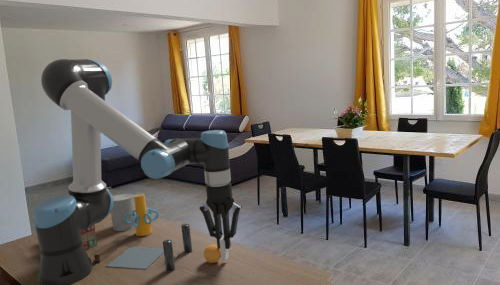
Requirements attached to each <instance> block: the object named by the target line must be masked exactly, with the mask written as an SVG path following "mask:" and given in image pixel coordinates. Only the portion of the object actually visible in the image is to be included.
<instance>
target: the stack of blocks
mask: <svg viewBox="0 0 500 285" xmlns="http://www.w3.org/2000/svg"><path fill="white" fill-rule="evenodd" d="M81 237H82V243H83V247H84V248H85V250H88V249H89V250H90V249H91V248H94V247H97V246H98V241H97V240H98V239H97V234H96V224H94V225H92V226H91V227H89V228H87V229H86V230H84V231H82V232H81Z"/></svg>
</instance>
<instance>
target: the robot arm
mask: <svg viewBox="0 0 500 285" xmlns="http://www.w3.org/2000/svg"><path fill="white" fill-rule="evenodd" d="M40 82H41V86H42V89H43V91H44V93H45V95H46V96H47V98H48V99H49V100H51V102H53V103H54V104H55V105H57V106H58V107H59V108H61V109H62V110H63V111H70V124H71V125H70V127H71V150H72V151H71V153H72V154H71V155H72V156H71V157H72V158H71V159H72V182H71V183H70V184H69V185H68V192H67V194H63V195H61V194H60V195H56V196H53V197H49V198H46V199H45V200H42V201H41V202H40V203H38V204H37V205H36V207H35V208H34V210H33V217H34V220H33V221H34V226H35V231H36V236H37V242H38V246H39V247H38V248H39V252H40V259H39V266H38V267H39V269H38V271H37V279H38V283H39V284H40V285H70V284H72V283H76V282H78V281H80V280H82V279H83V278H86V277H87V276H88V275H89V274H90V273H91V272H92V271H93V267H94V266H93V261H92V259H91V257H90V256H89V255H88V253H87V251H86V250H87V249H86V250H85V248H84V247H83V243H82V237H81V232H82V231H84V230H86V229H87V228H89V227H91V226H92V225H94V224H95V225H96V224H99V223H101V222H102V221H103V220H105V218H107V217H108V216H109V215H111V211H112V208H113V196H114V195H113V193H111V192H110V190H109V188H107V183H106V182H104V181H103V180H102V150H101V148H102V139H101V138H102V136H101V134H102V135H104V136H105V137H107V139H109V140H111V142H113V143H114V144H116V145H118V146H119V147H120V148H121V149H123V150H124V151H125V152H127V153H128V154H129V155H131V156H132V157H133V158H135V159H136V160H138V161H139V162H140V165H141V167H140V168H141V169H142V171H143V173H144V174H145V175H146V176H147V177H148V178H150V179H154V180H156V179H157V180H158V179H161V178H164V177H167V176H170V175H171V174H172V173H174V172H175V171H176V170H179V169H181V168H183V167H185V166H186V165H203V170H204V182H205V184H206V185H205V191H206V192H205V194H206V200H205V203H203V204H202V205H200V207H199V211H200V212H201V214H202V215H203V218H204V221H205V225H206V227H207V230H208V234H209V236H210V237H211V238H215V239H216V245H217V247H218V249H220V251H221V258H220V261H227V260H228V258H229V257H230V256H229V254H230V252H229V250H230V248H231V246H232V245H231V239H232V238H234V237H235V235H236V234H237V230H238V229H237V228H238V223H239V217H240V216H239V215H240V212H241V211H242V208H243V205H242V204H237V203H236V202H235V200H234V198H233V189H232V188H233V186H232V183H231V181H232V177H231V176H232V174H231V166H230V152H229V142H228V135H227V133H226V131H225V130H222V129H214V130H206V131H202V132H201V133H200V138H176V137H175V138H173V139H171V138H170V139H167V140H165V141H164V142H162V141H161V140H159V139H157V137H155V136H153V135H152V134H151V133H149V132H148V131H147V130H145V129H144V128H143V127H141V126H140V125H139V124H137V123H136V122H134V121H133V120H131V118H129V117H128V116H126V115H125V114H124V113H123V112H121V111H119V110H118V109H117V108H115V107H114V106H112V104H110V103H108V102H107V101H106V95H107V94H109V92H110V91H111V89H112V87H113V78H112V75H111V72H110V70H109V68H108V67H106V66H105V64H103V63H102V62H100V61H97V60H94V59H88V58H87V59H86V58H85V59H81V58H80V59H78V58H77V59H66V58H65V59H64V58H60V59H55V60H54V61H52V62H50V63H48V64H47V65H46V66H45V67H44V69H43V70H42V73H41V79H40ZM231 209H232V211H233V212H232V213H233V214H232V218H231V224H230V216H229V215H230V210H231ZM210 210H211V211H210ZM211 213H212V214H211Z"/></svg>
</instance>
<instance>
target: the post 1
mask: <svg viewBox="0 0 500 285" xmlns="http://www.w3.org/2000/svg"><path fill="white" fill-rule="evenodd" d="M162 247H163V248H164V253H163V255H164V256H163V257H164V263H165V272H168V273H172V272H174V271H175V270H176V264H175V258H174V257H175V256H174V249H173V241H172V239H165V240H163V241H162Z"/></svg>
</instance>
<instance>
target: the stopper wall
mask: <svg viewBox="0 0 500 285" xmlns="http://www.w3.org/2000/svg"><path fill="white" fill-rule="evenodd" d="M117 250H118V249H117V243H116V242H110V243H109V244H107V245H106V246H104V247H102V249H101V250H99V251H97V252H96V253H94V256H93V257H94V262H95V263H101V262H103V261H105V260H106V259H107V258H108V257H109V256H112V255H113V253H115V252H116V251H117Z"/></svg>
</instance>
